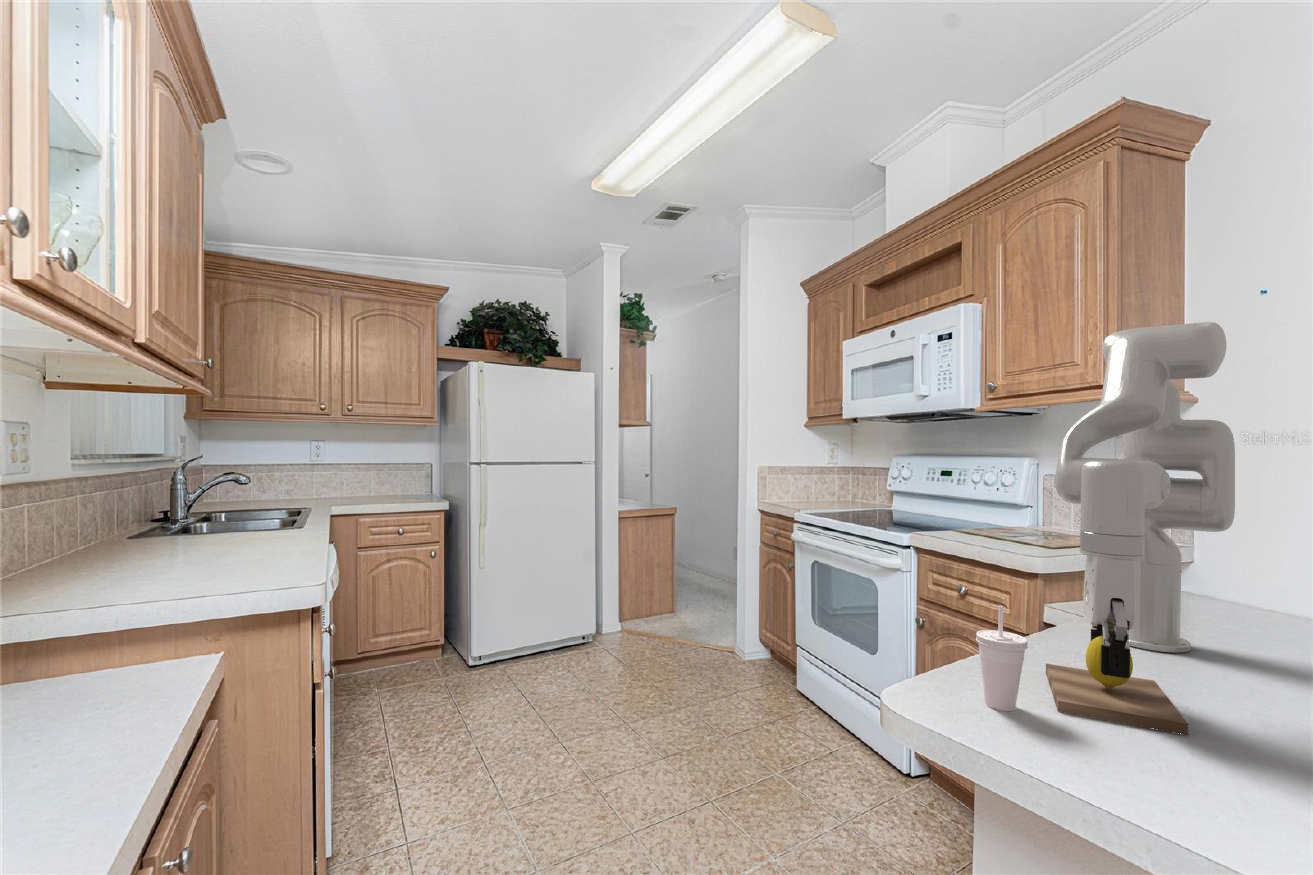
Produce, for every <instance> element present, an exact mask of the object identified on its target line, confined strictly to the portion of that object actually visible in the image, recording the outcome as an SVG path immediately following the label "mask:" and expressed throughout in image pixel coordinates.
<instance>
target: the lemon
mask: <svg viewBox="0 0 1313 875" xmlns="http://www.w3.org/2000/svg"><path fill="white" fill-rule="evenodd" d="M1109 637H1110V635H1109ZM1087 645H1088V646H1087V648H1086V653H1085V665H1086V668H1087V669H1086V670H1088V671H1089V673H1090V674H1091V675H1092V677H1093V678H1094V679H1095V680H1097V681H1098V682H1100V683H1102V684H1103V685H1104V687H1105V688H1106V689H1112V688H1114V687H1115V686H1120V685H1123V684H1125V683H1126V682H1127V681H1128V680H1129V678H1130V677H1132V674H1133V669H1134V668H1133V667H1134V663H1133V661H1134V660H1133V657H1132V654H1131V652H1130V677H1129V678H1121V677H1115V676H1108V675H1104V674H1102V672H1101V645H1104V639H1103V636H1099V637H1096V638H1095V639H1093V640H1092V641H1091V640H1090V641H1089V643H1088V644H1087Z"/></svg>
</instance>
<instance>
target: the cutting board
mask: <svg viewBox="0 0 1313 875" xmlns="http://www.w3.org/2000/svg"><path fill="white" fill-rule="evenodd" d="M1045 675H1046V679H1047V680H1048V685H1049V688H1050V691H1051V695H1052V697H1053V700H1054V701H1053V702H1054V703H1055V708H1056V710H1057V712H1058V713H1064V714H1069V715H1074V716H1075V715H1076V716H1080V717H1085V718H1091V719H1097V720H1101V721H1102V720H1103V721H1106V722H1107V721H1108V722H1113V723H1118V724H1123V725H1128V726H1133V727H1138V728H1139V727H1140V728H1144V727H1145V729H1149V728H1154V729H1158V730H1157V731H1159V730H1163V731H1162V732H1165V731H1167V732H1166V733H1170V732H1175V733H1179V734H1178V735H1181V734H1183V735H1182V736H1186V735H1188V736H1189V723H1188V722H1187V720H1186V719H1185V718H1184V716H1183V714H1181V713H1180V711H1179V710H1178V708H1176V706H1175V705H1174V703H1173V702H1172V701H1171V700H1170V699H1169V697H1168V696H1167V694H1165V692H1164V691H1163V689H1162V688H1161V687H1160V686H1159V685H1158V683H1157V682H1156V680H1153V679H1147V678H1141V677H1133V676H1131V677H1130V678H1129V680H1128V681H1127V682H1126V683H1125V684H1123V685H1120V686H1115V687H1114V688H1112V689H1106V688H1105V687H1104V685H1103V684H1102V683H1100V682H1098V681H1097V680H1095V679H1094V678H1093V677H1092V675H1091V674H1090V673H1089V671H1088V669H1083V668H1078V667H1071V666H1064V665H1059V664H1058V665H1057V664H1053V663H1052V664H1051V663H1045ZM1154 729H1153V730H1154ZM1175 733H1174V734H1175ZM1180 733H1181V734H1180Z"/></svg>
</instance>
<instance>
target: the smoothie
mask: <svg viewBox="0 0 1313 875" xmlns="http://www.w3.org/2000/svg"><path fill="white" fill-rule="evenodd" d="M997 623H998V624H997V625H998V628H997V630H996V629H983V630H978V631H976V634H975V636H976V637H975V641H976V642H977V643H978V649H979V659H980V668H981V678H982V686H983V694H984V697H983V698H984V703H985V705H986V706H987V705H988V706H987V707H988V708H991V709H994V710H997V711H1001V712H1014V711H1015V710H1016V706H1017V700H1018V695H1019V689H1020V681H1021V676H1022V670H1023V664H1024V658H1025V651H1026V650H1027V649H1028V648H1029V646H1028V639H1027V638H1026V637H1024V636H1022V635H1020V634H1017V633H1013V632H1009V631H1003V630H1004V606H1003V605H998V622H997Z"/></svg>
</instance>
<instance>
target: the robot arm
mask: <svg viewBox="0 0 1313 875" xmlns="http://www.w3.org/2000/svg"><path fill="white" fill-rule="evenodd" d="M1225 333H1226V332H1224V329H1223V328H1222V326H1221V325H1220V324H1219V323H1216V322H1213V321H1205V322H1194V323H1182V324H1180V323H1179V324H1171V325H1169V324H1168V325H1157V326H1155V325H1154V326H1147V327H1146V326H1145V327H1136V328H1129V329H1128V328H1127V329H1123V330H1122V329H1121V330H1119V331H1116V332H1113V333H1110V334H1109V335H1107V336H1106V337H1105V338H1104V339H1103V342H1102V356H1103V359H1104V361H1105V364H1106V366H1105V371H1104V377H1103V384H1102V385H1103V386H1102V392H1101V399H1100V403H1099V405H1097V406H1096V407H1094V408H1093V409H1091V410H1090V411H1089V412H1087V413H1086V414H1084V415H1083V416H1082V417H1081V418H1080V419H1078V421H1076V422H1075V423H1074V424H1073V425H1072V426H1071V428H1070V429H1069V430H1068V431H1067V432H1066V434H1065V436H1064V437H1063V438H1062V441H1061V445H1060V449H1059V455H1058V460H1057V464H1056V470H1055V480H1054V485H1055V490H1056V493H1057V494H1058V497H1059V498H1060V499H1062V500H1063V501H1064V502H1066V503H1068V504H1073V505H1080V520H1079V521H1080V523H1079V524H1080V526H1079V528H1080V530H1079V532H1080V533H1079V553H1080V554H1083V555H1085V556H1086V558H1085V565H1084V566H1085V567H1084V568H1085V569H1084V580H1083V581H1084V583H1083V600H1082V613H1083V615H1084V616H1085V617H1086V620H1088V622H1089V623H1090V624H1091V628H1090V642H1091V641H1092V640H1093V639H1095V638H1096V637H1099V636H1103V639H1104V645H1101V672H1102V674H1104V675H1108V676H1115V677H1121V678H1129V677H1130V653H1131V647H1134V648H1138V649H1143V650H1149V651H1154V652H1162V653H1180V654H1181V653H1187V652H1190V651H1191V649H1192V644H1191V642H1190V641H1188V640H1187V639H1185V638H1183V637H1181V616H1182V615H1181V613H1182V605H1181V604H1182V603H1181V601H1182V560H1183V559H1182V553H1181V550H1180V548H1179V546H1178V545H1177V544H1176V543H1175V541H1174V540H1173V539H1172V538H1171V537H1170V536H1169V535H1168V534H1167V533H1166V532H1165V531H1164V530H1165V529H1167V530H1181V531H1183V530H1184V531H1192V532H1193V531H1194V532H1195V531H1196V532H1207V533H1208V532H1210V533H1212V532H1213V533H1221V532H1225V531H1227V530H1229V529H1230V528H1231V527H1232V525H1233V523H1234V519H1235V514H1236V512H1235V511H1236V450H1235V449H1236V446H1235V444H1236V443H1235V439H1234V438H1235V437H1234V434H1233V433H1232V432H1233V431H1232V429H1231V428H1230V426H1229V425H1228V424H1226V423H1225V422H1223V421H1221V420H1215V419H1183V418H1182V417H1181V410H1180V409H1181V394H1180V391H1179V390H1178V388H1177V387H1176V386H1175V384H1173V383H1172V381H1171V380H1183V379H1184V380H1185V379H1189V380H1190V379H1205V378H1210V377H1212V376H1214V375H1215V374H1216V373H1217V372H1218V371H1219V369H1220V367H1221V365H1222V364H1223V362H1224V359H1225V356H1226V353H1227V338H1226V334H1225ZM1120 436H1122V450H1123V457H1124V458H1111V457H1110V458H1106V457H1105V458H1104V457H1103V458H1102V457H1084V456H1085V454H1087V452H1088V451H1089V450H1090V449H1092V448H1093V447H1095V446H1096V445H1098V444H1100V443H1102V442H1105V441H1107V440H1110V439H1111V440H1112V439H1113V438H1117V437H1120ZM1167 471H1177V472H1178V471H1179V472H1180V471H1181V472H1194V473H1198V474H1199V475H1200V476H1201V478H1185V477H1184V478H1180V477H1171V476H1170V475H1169V472H1167ZM1109 635H1110V637H1109Z"/></svg>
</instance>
